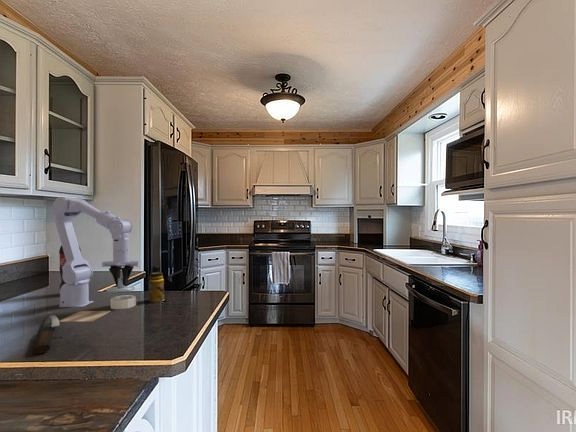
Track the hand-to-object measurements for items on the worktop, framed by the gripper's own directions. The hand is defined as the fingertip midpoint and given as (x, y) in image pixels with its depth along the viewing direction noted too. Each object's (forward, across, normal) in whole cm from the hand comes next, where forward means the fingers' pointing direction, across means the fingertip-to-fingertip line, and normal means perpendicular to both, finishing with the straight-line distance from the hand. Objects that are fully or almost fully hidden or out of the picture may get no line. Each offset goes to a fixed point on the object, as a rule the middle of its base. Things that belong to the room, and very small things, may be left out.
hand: (121, 284), depth 132 cm
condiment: (+9, +9, +9) cm, 16 cm away
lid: (+2, 0, -1) cm, 2 cm away
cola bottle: (+9, -36, +22) cm, 43 cm away
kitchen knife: (+9, -8, -28) cm, 31 cm away
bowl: (+9, 0, +1) cm, 9 cm away
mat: (+9, -7, -12) cm, 17 cm away
